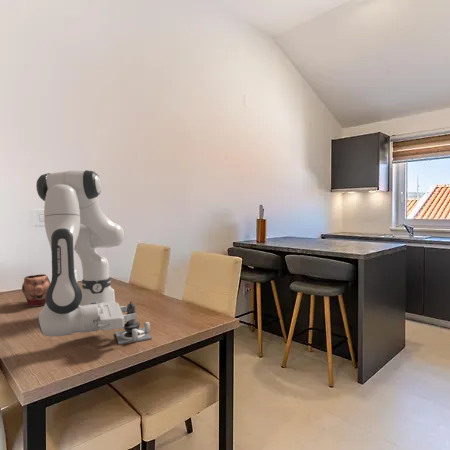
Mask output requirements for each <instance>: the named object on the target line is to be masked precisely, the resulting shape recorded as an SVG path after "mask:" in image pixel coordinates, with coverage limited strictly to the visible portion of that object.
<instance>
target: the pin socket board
mask: <svg viewBox="0 0 450 450" xmlns="http://www.w3.org/2000/svg"><path fill="white" fill-rule="evenodd" d="M150 323H151V322H149V321H146V322H144V327H139V329H132V337H125V336H124V334H125V333H127V332H126V331H125V330H122V331H121V330H119V331H115V332H114V334H115V337H116V341H117V344H118V345H125V344H131V343H132V344H133V343H138V342H144V341H150V340H153V339H152V336H151V332H150V331H151V327H150ZM138 332H139V333H140V334H139V335H138Z"/></svg>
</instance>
